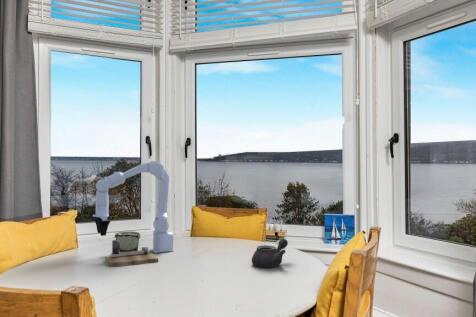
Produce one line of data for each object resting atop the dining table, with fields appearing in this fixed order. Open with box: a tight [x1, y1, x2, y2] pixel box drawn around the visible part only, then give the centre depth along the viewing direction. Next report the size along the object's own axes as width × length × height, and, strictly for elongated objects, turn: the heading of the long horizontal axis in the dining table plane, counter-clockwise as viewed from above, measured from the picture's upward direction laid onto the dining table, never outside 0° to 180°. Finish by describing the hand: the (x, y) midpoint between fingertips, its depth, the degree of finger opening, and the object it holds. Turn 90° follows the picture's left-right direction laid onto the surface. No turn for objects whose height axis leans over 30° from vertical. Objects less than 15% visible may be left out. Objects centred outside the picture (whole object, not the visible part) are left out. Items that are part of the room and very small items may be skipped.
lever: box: [110, 239, 150, 257], centre depth 172 cm, size 16×3×7 cm, turn 120°
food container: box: [114, 231, 141, 252], centre depth 182 cm, size 12×6×10 cm, turn 84°
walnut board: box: [105, 252, 159, 268], centre depth 168 cm, size 20×12×2 cm, turn 118°
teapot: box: [251, 238, 289, 268], centre depth 165 cm, size 19×15×10 cm
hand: (101, 234), depth 180 cm, fingers open, 7 cm apart
